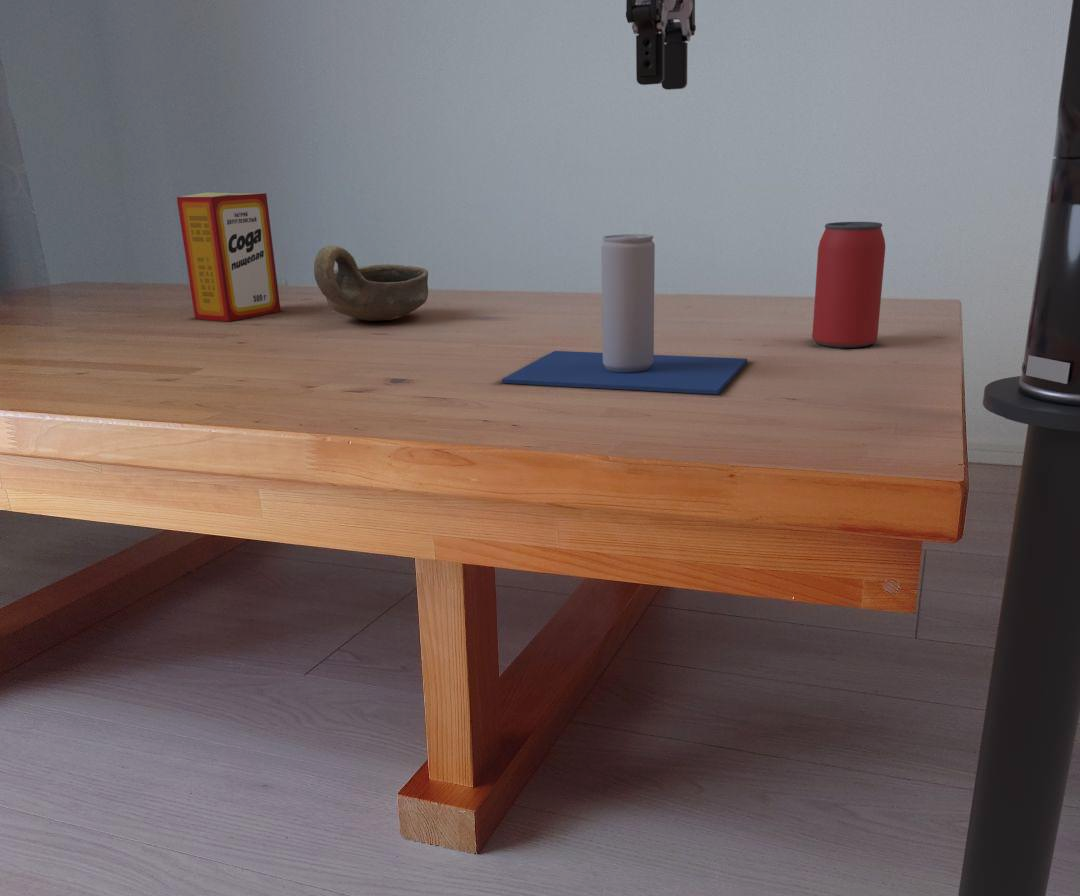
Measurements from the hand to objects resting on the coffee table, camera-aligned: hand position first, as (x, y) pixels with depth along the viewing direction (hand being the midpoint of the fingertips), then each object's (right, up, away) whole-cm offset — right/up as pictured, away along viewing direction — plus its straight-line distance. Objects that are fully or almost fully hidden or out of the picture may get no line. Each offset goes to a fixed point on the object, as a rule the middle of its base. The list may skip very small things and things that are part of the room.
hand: (662, 86), depth 87 cm
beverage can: (-2, -23, +8) cm, 25 cm away
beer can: (+21, -19, +19) cm, 34 cm away
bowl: (-32, -11, +42) cm, 54 cm away
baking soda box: (-52, -8, +52) cm, 74 cm away
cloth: (-2, -23, +8) cm, 25 cm away
